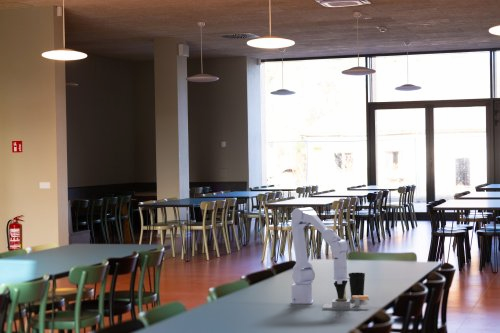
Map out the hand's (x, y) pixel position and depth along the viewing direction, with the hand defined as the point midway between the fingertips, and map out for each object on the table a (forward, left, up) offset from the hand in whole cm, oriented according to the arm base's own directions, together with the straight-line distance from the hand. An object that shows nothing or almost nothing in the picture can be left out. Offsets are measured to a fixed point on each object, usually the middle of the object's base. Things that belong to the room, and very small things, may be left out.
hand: (341, 297), depth 352 cm
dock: (0, 0, -4) cm, 4 cm away
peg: (0, 0, -2) cm, 2 cm away
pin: (+8, 0, -1) cm, 8 cm away
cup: (+6, +22, -5) cm, 23 cm away
